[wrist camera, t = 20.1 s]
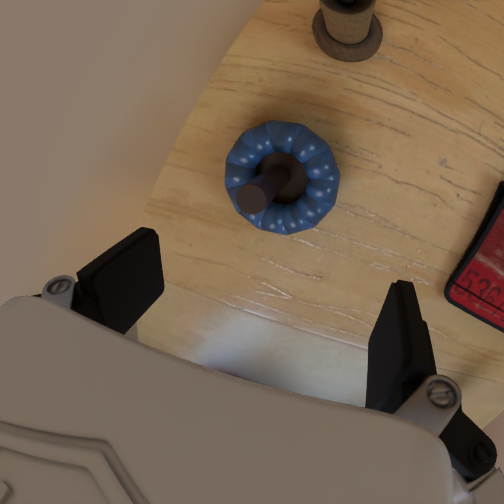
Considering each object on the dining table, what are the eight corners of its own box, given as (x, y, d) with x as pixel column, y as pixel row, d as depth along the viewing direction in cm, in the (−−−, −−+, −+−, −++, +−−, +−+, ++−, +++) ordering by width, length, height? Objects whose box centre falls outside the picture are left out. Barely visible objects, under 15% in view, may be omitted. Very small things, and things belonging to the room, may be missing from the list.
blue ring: (235, 116, 27) (223, 116, 24) (347, 131, 24) (347, 132, 22) (229, 216, 32) (218, 225, 30) (328, 237, 30) (326, 249, 27)
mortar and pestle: (334, 72, 23) (315, 4, 8) (302, 22, 21) (240, -74, 6) (392, 50, 20) (444, -30, 5) (358, 0, 18) (356, -109, 3)
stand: (247, 132, 29) (202, 141, 20) (323, 141, 27) (311, 153, 18) (243, 203, 32) (202, 239, 24) (313, 215, 30) (297, 258, 22)
